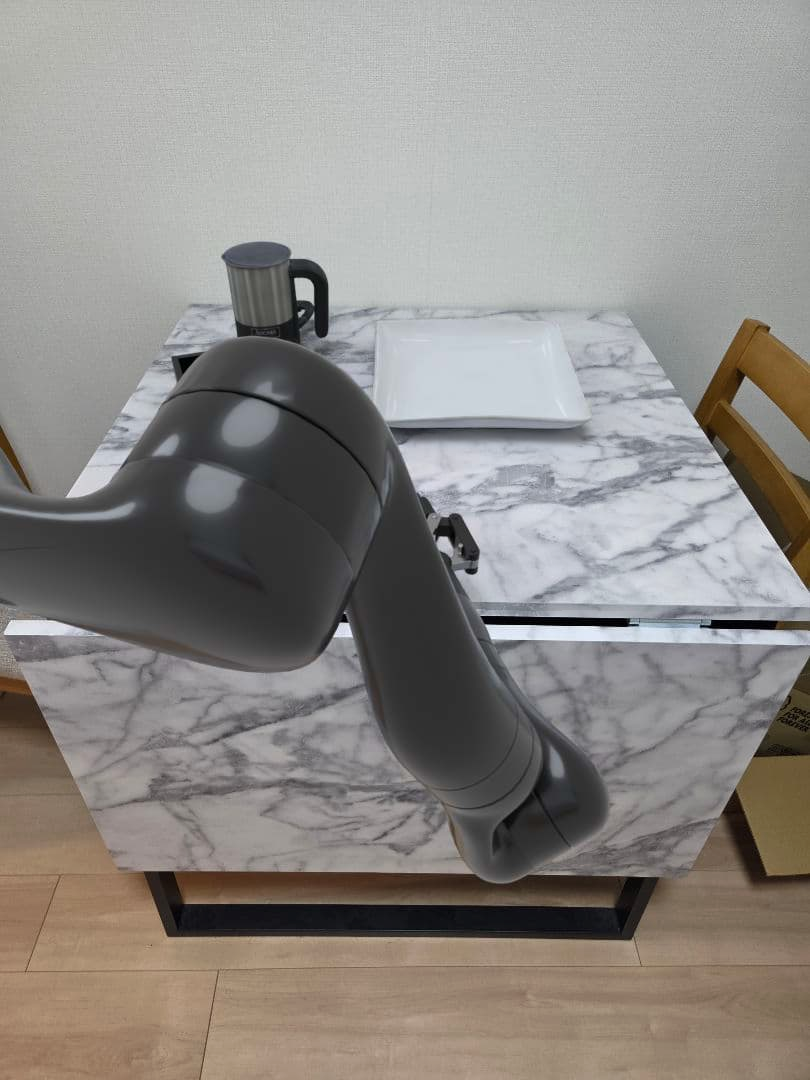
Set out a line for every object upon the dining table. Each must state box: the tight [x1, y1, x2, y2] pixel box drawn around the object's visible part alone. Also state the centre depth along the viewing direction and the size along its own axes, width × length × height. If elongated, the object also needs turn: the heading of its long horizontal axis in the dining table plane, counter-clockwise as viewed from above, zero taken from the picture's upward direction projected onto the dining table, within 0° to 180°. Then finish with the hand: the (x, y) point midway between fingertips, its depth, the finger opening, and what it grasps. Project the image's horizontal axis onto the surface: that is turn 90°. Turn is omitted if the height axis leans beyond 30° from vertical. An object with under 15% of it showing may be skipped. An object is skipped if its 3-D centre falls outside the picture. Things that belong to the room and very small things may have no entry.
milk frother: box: [220, 240, 330, 345], centre depth 107 cm, size 14×16×15 cm
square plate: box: [371, 318, 593, 429], centre depth 101 cm, size 27×27×4 cm
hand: (371, 508), depth 72 cm, fingers open, 8 cm apart
